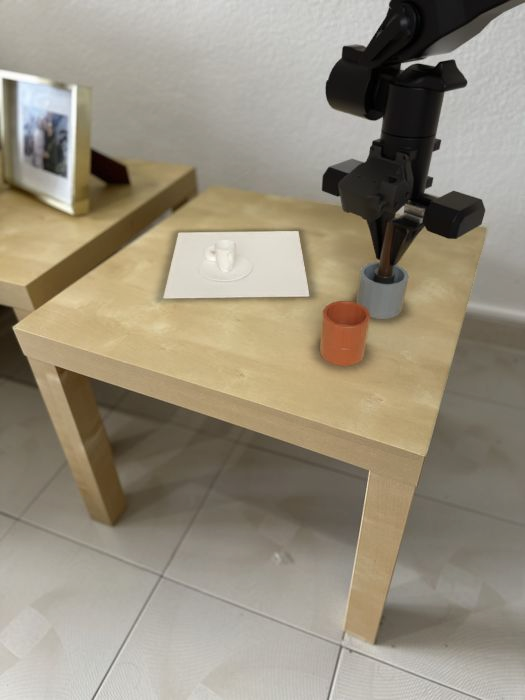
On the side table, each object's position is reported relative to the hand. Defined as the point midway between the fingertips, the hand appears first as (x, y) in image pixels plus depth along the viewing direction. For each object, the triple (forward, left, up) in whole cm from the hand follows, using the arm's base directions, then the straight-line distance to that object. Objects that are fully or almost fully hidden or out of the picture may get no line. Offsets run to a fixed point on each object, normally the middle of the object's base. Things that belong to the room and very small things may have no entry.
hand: (386, 261), depth 64 cm
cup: (0, 0, -7) cm, 7 cm away
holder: (-3, +11, -7) cm, 13 cm away
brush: (0, 0, -6) cm, 6 cm away
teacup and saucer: (+22, +6, -7) cm, 24 cm away
